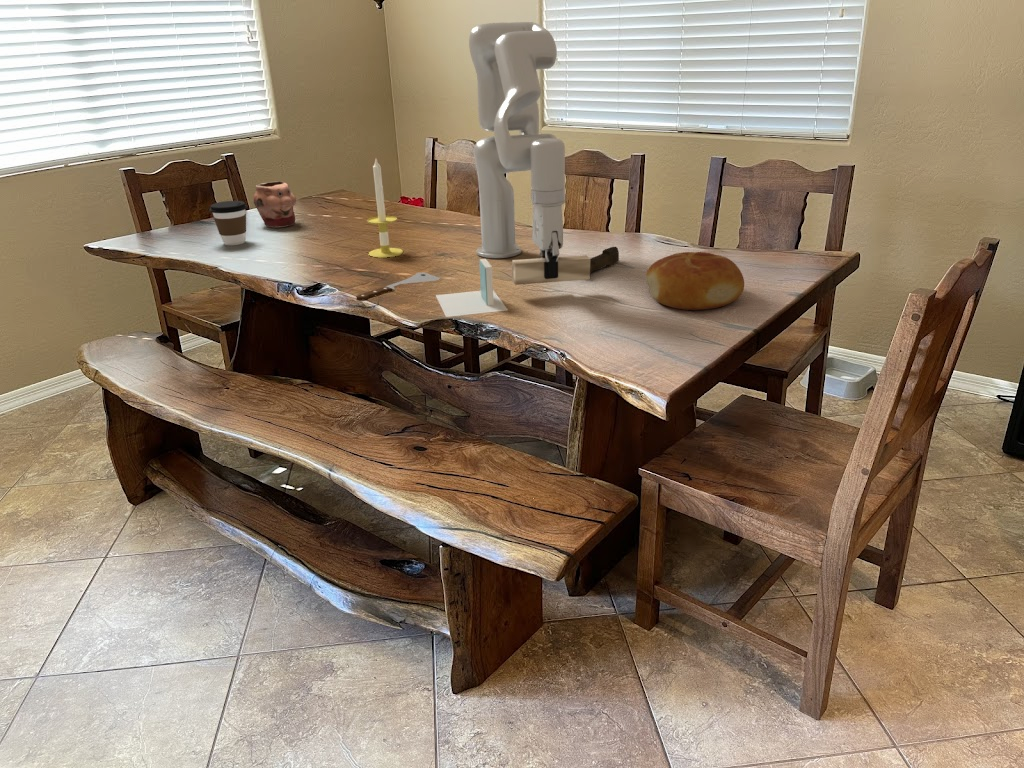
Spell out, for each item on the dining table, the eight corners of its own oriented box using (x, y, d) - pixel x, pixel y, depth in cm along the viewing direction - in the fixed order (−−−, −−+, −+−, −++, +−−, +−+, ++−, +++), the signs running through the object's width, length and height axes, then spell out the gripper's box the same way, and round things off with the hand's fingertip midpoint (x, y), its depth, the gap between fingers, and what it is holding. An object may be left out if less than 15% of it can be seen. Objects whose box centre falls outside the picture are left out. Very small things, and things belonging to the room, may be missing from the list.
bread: (621, 300, 181) (622, 258, 177) (679, 277, 196) (681, 237, 191) (706, 322, 166) (709, 276, 162) (762, 295, 181) (767, 253, 176)
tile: (480, 296, 184) (478, 259, 180) (487, 295, 184) (485, 258, 181) (486, 305, 178) (485, 267, 174) (493, 305, 178) (492, 266, 174)
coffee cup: (258, 238, 246) (252, 200, 241) (244, 247, 236) (237, 207, 231) (225, 238, 247) (218, 200, 242) (210, 247, 237) (202, 208, 232)
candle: (361, 256, 223) (349, 159, 212) (381, 247, 231) (372, 153, 220) (389, 259, 219) (379, 160, 207) (409, 250, 227) (401, 155, 215)
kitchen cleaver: (376, 304, 182) (349, 293, 188) (376, 308, 183) (349, 297, 189) (450, 279, 199) (423, 270, 205) (450, 283, 199) (423, 274, 205)
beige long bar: (512, 281, 182) (512, 260, 180) (585, 275, 186) (586, 255, 184) (515, 284, 180) (515, 263, 178) (589, 279, 183) (590, 258, 181)
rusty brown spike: (581, 280, 196) (582, 262, 194) (569, 277, 198) (569, 259, 196) (626, 264, 208) (627, 246, 206) (614, 261, 211) (614, 244, 209)
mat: (435, 297, 186) (435, 295, 186) (493, 291, 189) (493, 289, 189) (446, 319, 172) (446, 317, 172) (508, 312, 175) (508, 310, 175)
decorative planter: (244, 224, 264) (236, 183, 258) (274, 217, 273) (267, 177, 267) (280, 232, 253) (273, 188, 247) (310, 224, 261) (304, 182, 255)
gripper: (523, 191, 181) (525, 268, 189) (541, 205, 167) (543, 287, 174) (554, 188, 183) (554, 265, 190) (575, 202, 168) (575, 284, 176)
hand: (549, 275), depth 182 cm, fingers closed on beige long bar, 2 cm apart
